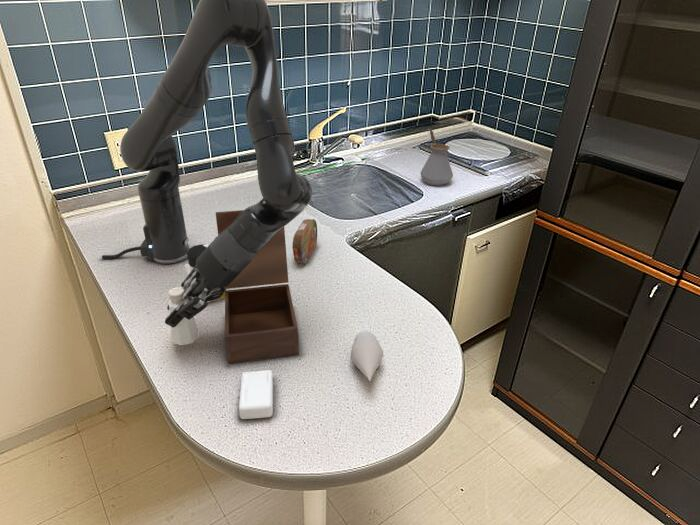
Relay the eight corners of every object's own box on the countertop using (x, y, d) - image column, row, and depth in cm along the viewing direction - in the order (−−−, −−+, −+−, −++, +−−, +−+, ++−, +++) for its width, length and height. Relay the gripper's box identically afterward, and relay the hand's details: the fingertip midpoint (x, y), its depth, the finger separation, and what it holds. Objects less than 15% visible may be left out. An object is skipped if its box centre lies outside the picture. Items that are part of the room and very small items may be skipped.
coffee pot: (455, 187, 172) (461, 145, 164) (423, 188, 171) (427, 145, 164) (441, 166, 190) (445, 127, 183) (411, 166, 190) (415, 128, 182)
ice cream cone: (366, 401, 86) (362, 355, 100) (394, 383, 85) (386, 338, 99) (344, 379, 84) (343, 335, 98) (372, 359, 83) (367, 317, 97)
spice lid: (282, 207, 101) (282, 207, 102) (215, 212, 98) (215, 212, 99) (288, 282, 105) (288, 281, 106) (224, 289, 103) (224, 288, 103)
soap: (272, 418, 83) (271, 405, 81) (239, 421, 82) (238, 408, 81) (273, 380, 90) (272, 368, 89) (243, 382, 90) (241, 370, 88)
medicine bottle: (195, 306, 110) (187, 259, 104) (188, 289, 115) (180, 244, 109) (227, 298, 113) (221, 252, 106) (219, 282, 118) (212, 238, 112)
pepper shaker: (195, 346, 95) (186, 299, 89) (167, 345, 95) (156, 298, 89) (203, 328, 100) (194, 282, 94) (176, 328, 100) (166, 282, 94)
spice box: (299, 354, 97) (297, 327, 93) (229, 364, 94) (225, 336, 90) (289, 309, 109) (288, 283, 106) (228, 316, 107) (224, 290, 103)
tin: (303, 269, 124) (302, 240, 119) (291, 268, 124) (289, 238, 120) (318, 241, 136) (318, 214, 132) (307, 240, 137) (306, 213, 133)
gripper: (211, 227, 94) (157, 287, 98) (210, 264, 82) (148, 331, 86) (242, 248, 98) (188, 305, 102) (245, 287, 86) (184, 350, 90)
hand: (170, 316), depth 94 cm, fingers closed on pepper shaker, 4 cm apart
